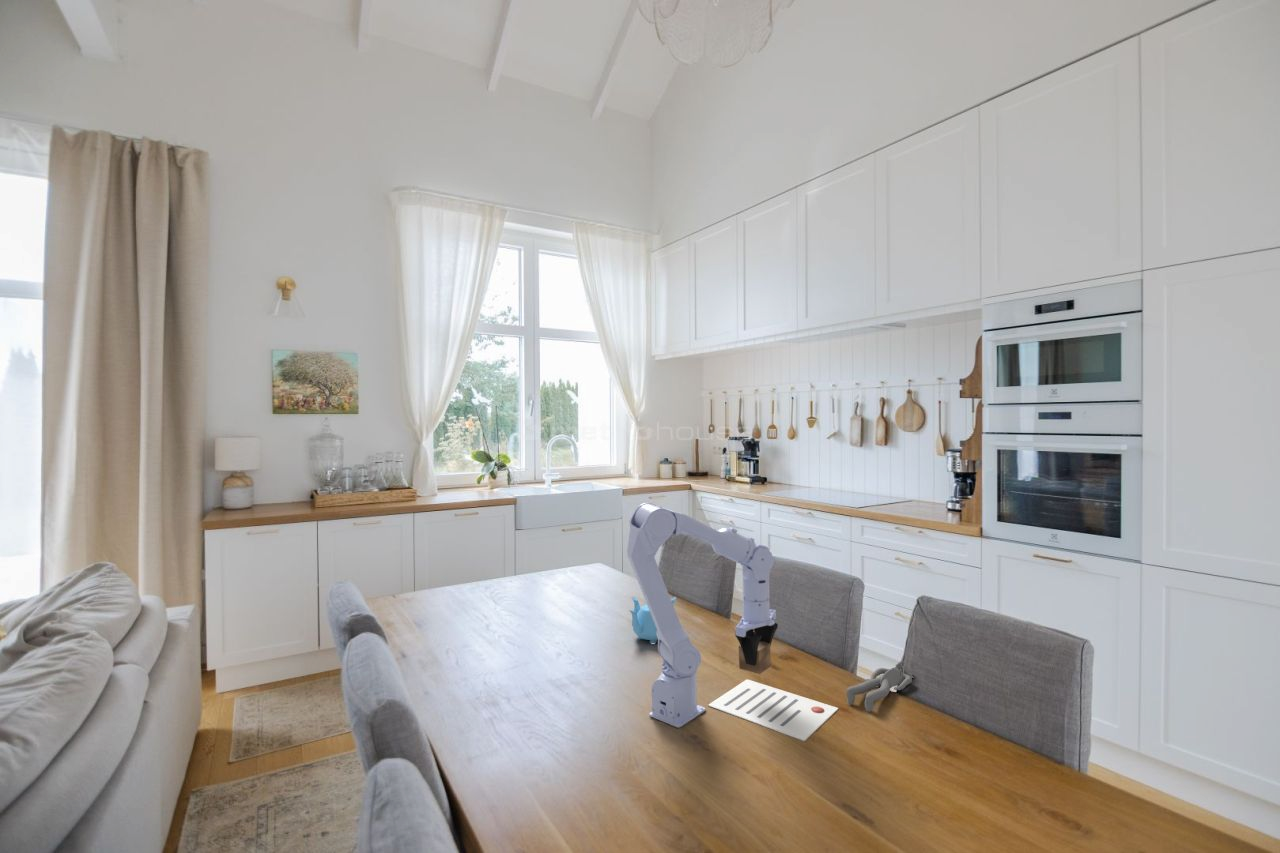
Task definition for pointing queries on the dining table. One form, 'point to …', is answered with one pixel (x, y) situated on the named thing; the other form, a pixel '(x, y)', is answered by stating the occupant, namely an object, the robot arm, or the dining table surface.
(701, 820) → the dining table surface
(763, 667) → the walnut cube
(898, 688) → the alien figure
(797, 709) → the white card
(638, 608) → the teapot
